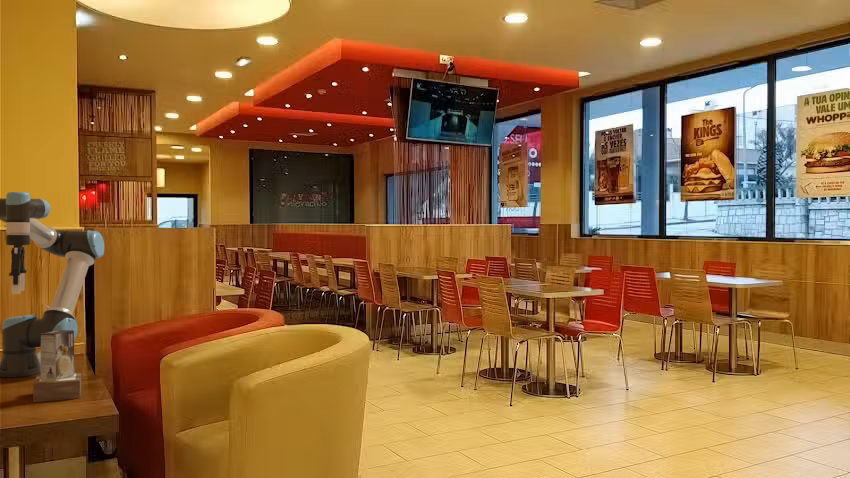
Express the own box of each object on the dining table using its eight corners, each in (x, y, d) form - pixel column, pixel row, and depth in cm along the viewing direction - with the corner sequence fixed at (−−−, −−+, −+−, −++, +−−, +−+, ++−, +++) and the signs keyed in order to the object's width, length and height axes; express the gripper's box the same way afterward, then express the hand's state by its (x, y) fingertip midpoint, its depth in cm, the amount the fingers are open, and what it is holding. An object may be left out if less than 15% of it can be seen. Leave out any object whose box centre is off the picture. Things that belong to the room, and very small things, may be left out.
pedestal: (36, 393, 243) (36, 375, 243) (81, 389, 249) (81, 372, 249) (33, 402, 230) (33, 383, 230) (79, 398, 236) (79, 379, 236)
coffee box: (59, 374, 245) (59, 329, 244) (74, 375, 243) (74, 330, 243) (39, 380, 236) (39, 333, 235) (56, 380, 234) (56, 333, 234)
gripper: (10, 233, 261) (10, 289, 261) (1, 234, 238) (1, 295, 238) (32, 233, 264) (32, 289, 264) (26, 234, 241) (26, 295, 242)
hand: (18, 292), depth 251 cm, fingers open, 13 cm apart
